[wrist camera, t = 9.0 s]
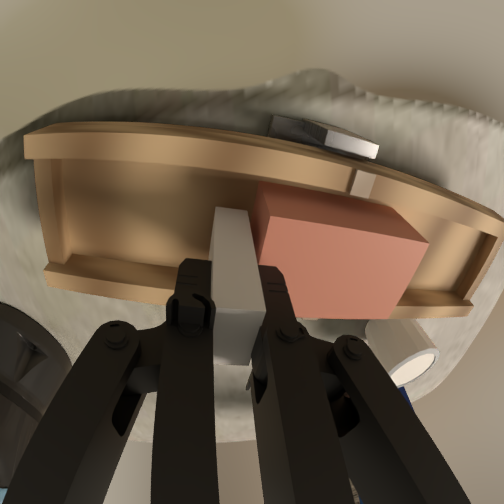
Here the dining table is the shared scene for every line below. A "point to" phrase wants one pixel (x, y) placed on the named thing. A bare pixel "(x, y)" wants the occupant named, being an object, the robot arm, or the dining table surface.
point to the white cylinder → (401, 348)
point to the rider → (335, 251)
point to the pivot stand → (322, 137)
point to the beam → (227, 196)
